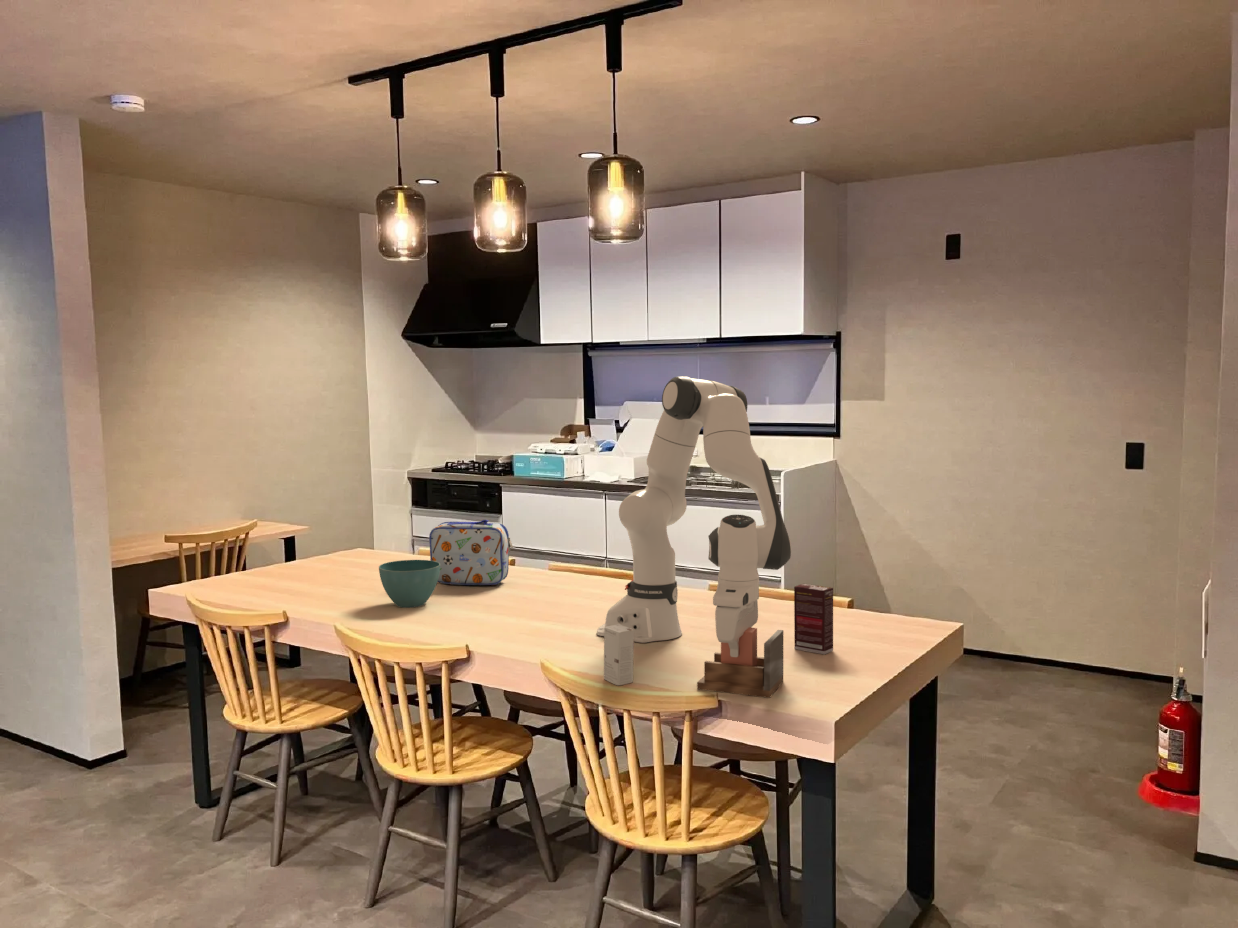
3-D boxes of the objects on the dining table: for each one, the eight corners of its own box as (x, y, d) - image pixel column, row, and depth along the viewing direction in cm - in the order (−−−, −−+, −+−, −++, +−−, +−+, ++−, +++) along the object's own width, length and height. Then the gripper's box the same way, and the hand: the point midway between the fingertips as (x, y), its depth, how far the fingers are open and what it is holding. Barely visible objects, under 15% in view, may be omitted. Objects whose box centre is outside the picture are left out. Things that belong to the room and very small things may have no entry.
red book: (721, 669, 208) (720, 629, 207) (726, 664, 211) (726, 625, 211) (752, 673, 205) (752, 632, 204) (757, 668, 209) (757, 627, 208)
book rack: (697, 688, 206) (696, 636, 205) (714, 673, 217) (713, 623, 216) (769, 697, 200) (769, 643, 199) (783, 681, 211) (783, 630, 210)
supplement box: (834, 650, 234) (834, 587, 233) (824, 655, 230) (824, 590, 229) (802, 644, 239) (803, 582, 238) (793, 649, 236) (793, 586, 234)
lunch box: (515, 581, 323) (514, 516, 321) (508, 587, 312) (506, 521, 310) (437, 579, 326) (435, 516, 324) (427, 586, 316) (425, 520, 314)
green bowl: (448, 598, 298) (447, 559, 297) (431, 612, 280) (429, 570, 279) (391, 597, 299) (390, 559, 298) (371, 611, 281) (369, 570, 280)
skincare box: (602, 679, 213) (601, 626, 212) (619, 675, 216) (618, 623, 215) (618, 686, 208) (617, 632, 207) (635, 682, 211) (634, 628, 210)
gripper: (737, 580, 217) (738, 639, 219) (710, 599, 199) (710, 663, 200) (764, 582, 215) (764, 642, 216) (739, 601, 196) (739, 667, 197)
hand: (738, 652), depth 208 cm, fingers closed on red book, 4 cm apart
